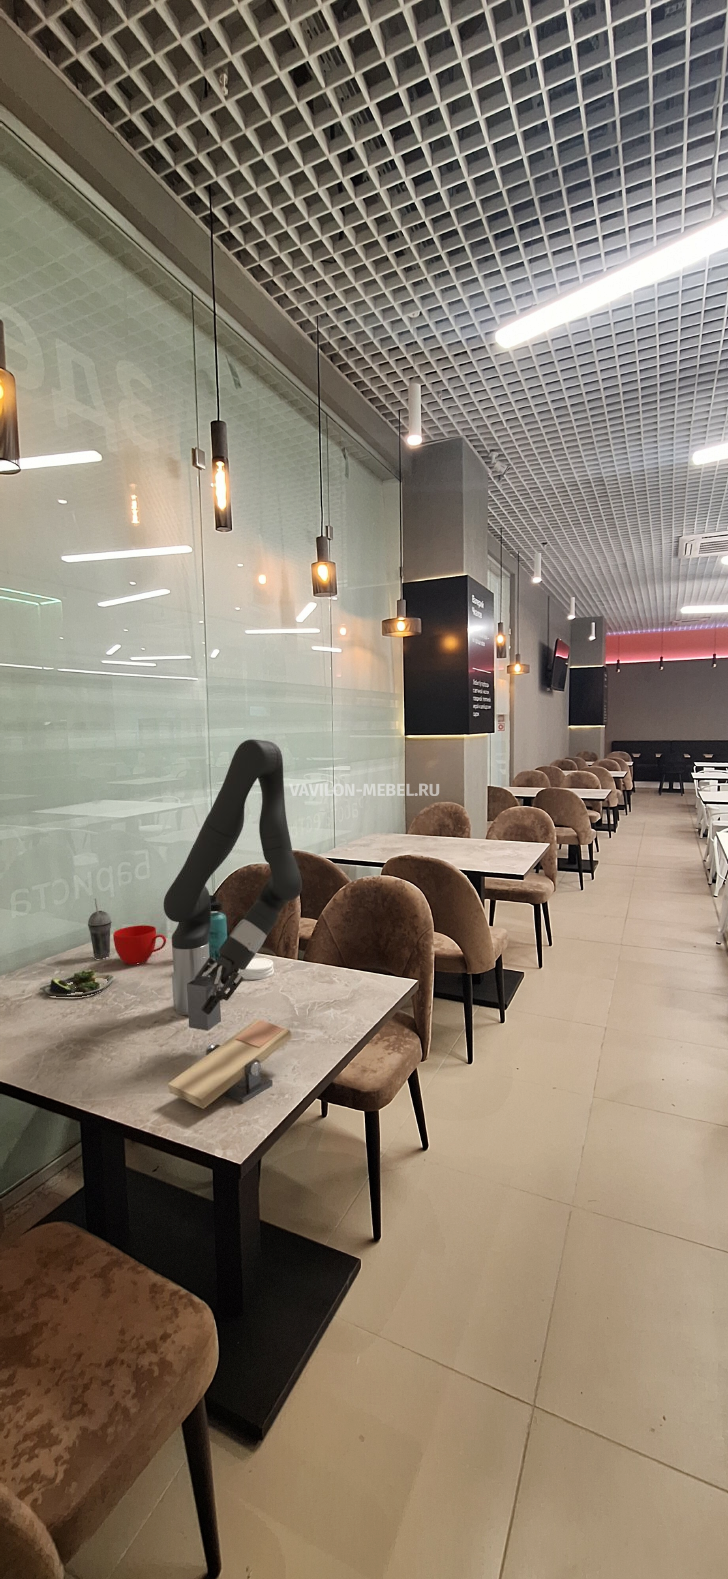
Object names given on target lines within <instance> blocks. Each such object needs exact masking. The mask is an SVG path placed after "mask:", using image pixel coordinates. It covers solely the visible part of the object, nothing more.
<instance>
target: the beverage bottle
mask: <svg viewBox="0 0 728 1579" xmlns="http://www.w3.org/2000/svg"><path fill="white" fill-rule="evenodd" d="M211 911H217V912H216V913H211V929H210V933H209V956H210V957H211V958H213V959H214V960H215V961H216V960H217V959H218V958H219V957H220V954H219V953H218V950H219V949H220V947H221V946H222V944H223V943H224V942H225V940H226V939H227V938H228V930H227V929H228V928H227V927H228V925H227V916H226V914H224V913H223V912H221V911H223V904H222V902H221V901H220V902H219V901H216V902H214V903H211ZM219 911H220V912H219Z"/></svg>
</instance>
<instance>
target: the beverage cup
mask: <svg viewBox="0 0 728 1579" xmlns="http://www.w3.org/2000/svg"><path fill="white" fill-rule="evenodd" d="M94 903H95V910H96V911H94V912H93V913H92V914H91V915H90V916H89V918H88V920H87V926H88V931H89V933H90V939H91V946H92V951H93V952H92V953H93V956H94V959H95V958H96V959H103V958H106V957H109V958H110V953H111V928H112V919H111V917H110V915H109V913H107V912H106V911H105V910H99V907H98V900H97V898H94Z"/></svg>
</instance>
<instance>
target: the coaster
mask: <svg viewBox="0 0 728 1579" xmlns="http://www.w3.org/2000/svg"><path fill="white" fill-rule="evenodd" d="M274 968H275V967H274V961H273V960H271V959H269V958H264V957H257V958H253V959H252V960H251V961H250V963H249V964H248V966H247V967H246V969H245V970H241V969H239V975H241V976H242V977H243V980H248V981H249V980H250V981H254V980H256V981H257V980H264V979H266V978H270V977H271V976H273V974H274V972H275V970H274Z"/></svg>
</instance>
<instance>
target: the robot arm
mask: <svg viewBox="0 0 728 1579" xmlns="http://www.w3.org/2000/svg"><path fill="white" fill-rule="evenodd" d="M282 754H283V753H282V751H281V749H280V748H279V746H278V745H277V744H275V743H274V742H272V741H269V740H261V739H254V738H253V739H250V738H249V739H247V740H244V741H243V742H241V743H240V744H239V745H238V746H237V748H236V750H235V752H234V754H233V757H232V758H231V761H230V764H229V767H228V770H227V771H226V772H227V773H226V775H225V778H224V781H223V782H222V786H221V787H220V790H219V791H218V794H217V796H216V798H215V800H214V803H213V805H212V806H211V809H210V811H209V813H208V814H207V816H206V818H205V820H204V822H203V824H202V826H201V828H200V831H199V833H198V834H197V837H196V839H195V841H194V844H193V845H192V848H191V849H190V851H189V853H188V856H187V857H186V860H185V862H184V864H183V866H182V868H181V870H180V871H179V873H178V874H177V876H176V877H175V880H173V883H172V884H171V885H170V887H169V888H168V890H167V892H166V893H165V895H164V898H163V899H164V900H163V911H164V914H165V916H166V918H168V919H169V920H171V921H172V922H175V923H178V924H177V926H176V929H175V930H174V932H173V933H172V935H171V949H172V953H171V954H172V965H173V970H172V971H173V972H172V973H171V983H172V984H171V985H172V999H173V1002H172V1003H173V1009H175V1012H176V1013H177V1014H178V1015H182V1016H188V997H187V983H189V982H191V981H193V980H194V979H196V978H198V977H199V976H205V977H212V978H214V979H215V982H214V985H215V988H214V991H213V996H212V995H211V996H210V997H209V998H208V1000H207V1001H206V1003H205V1004H204V1005H203V1007H202V1009H201V1010H202V1011H203V1012H205V1013H206V1014H208V1015H209V1014H210V1013H211V1012H212V1011H213V1009H214V1008H215V1006H216V1005H217V1004H218V1002H219V1001H220V1002H221V1001H223V1000H224V1001H228V1000H229V999H230V998H231V996H232V995H233V994H234V993H235V991H236V990H237V988H238V987H239V986H240V985H241V983H242V982H243V980H244V978H243V977H242V976H241V975H240V973H239V972H240V969H241V970H245V969H246V967H247V966H248V964H249V963H250V961H251V960H252V959H254V957H255V956H256V954H257V953H258V952H259V950H260V949H261V947H262V946H263V944H264V942H265V940H266V939H267V937H268V935H269V934H270V933H271V931H272V930H273V929H274V928H275V925H276V923H277V922H278V920H279V917H280V916H279V915H280V913H281V911H282V910H283V908H284V906H285V905H286V904H287V902H291V901H294V900H296V899H297V898H298V897H299V896H300V894H301V892H302V890H303V880H302V879H303V878H302V875H301V872H300V869H299V866H298V864H297V863H298V862H297V860H296V858H295V856H294V853H293V847H292V841H291V836H290V830H289V826H288V820H287V812H286V803H285V802H286V801H285V800H286V799H285V785H284V784H285V783H284V761H283V755H282ZM257 779H258V782H259V786H260V791H261V809H260V814H259V824H258V829H259V830H258V832H259V840H260V843H261V849H262V853H263V854H262V855H263V857H264V860H265V861H266V863H268V865H269V869H270V873H271V874H270V875H271V877H270V878H268V880H267V881H266V883H265V884H264V886H263V887H262V889H261V891H260V893H259V895H258V896H257V898H256V900H255V902H254V903H253V905H252V906H251V907H250V908H249V910H248V911H247V912H246V913H245V915H244V916H243V918H242V919H241V920H240V921H239V922H238V923H237V925H236V926H235V927H234V928H233V930H232V931H231V932H230V934H229V935H227V937H228V938H227V939H226V940H225V942H224V943H223V944H222V946H221V947H220V949H219V950H218V953H219V954H220V957H219V958H218V959H217V960H216V961H215V960H214V959H213V958H211V957H210V956H209V933H210V929H211V901H210V895H211V894H210V892H209V890H208V888H207V887H206V885H207V882H208V881H209V880H210V878H211V876H213V874H214V873H215V871H217V870H218V868H220V866H221V865H222V864H223V862H225V861H226V859H227V858H228V857H229V856H230V853H231V852H232V850H233V849H234V847H235V846H236V843H237V841H238V839H239V837H240V835H241V834H242V831H243V828H244V825H245V824H244V823H245V808H246V807H245V804H246V802H247V798H248V795H249V793H250V791H251V790H252V787H253V786H254V784H255V783H256V781H257ZM219 989H220V991H219Z"/></svg>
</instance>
